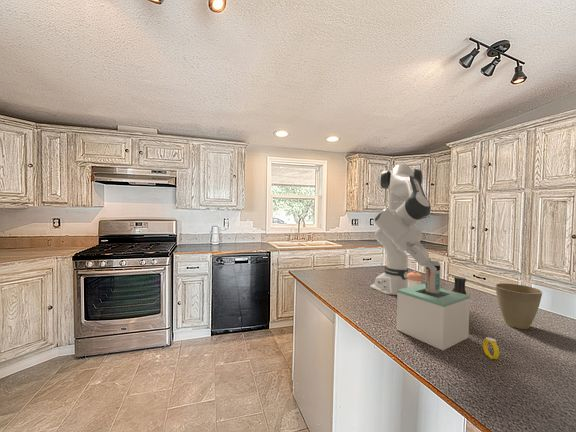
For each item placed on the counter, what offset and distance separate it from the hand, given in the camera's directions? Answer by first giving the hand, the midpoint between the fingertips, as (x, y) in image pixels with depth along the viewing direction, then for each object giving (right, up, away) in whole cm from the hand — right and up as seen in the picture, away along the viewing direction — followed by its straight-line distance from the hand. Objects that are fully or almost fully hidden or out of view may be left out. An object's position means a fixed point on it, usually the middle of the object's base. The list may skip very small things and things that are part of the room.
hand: (435, 269), depth 101 cm
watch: (+10, -26, -15) cm, 32 cm away
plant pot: (+40, -26, +9) cm, 48 cm away
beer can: (-1, -9, 0) cm, 9 cm away
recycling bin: (-1, -25, +1) cm, 25 cm away
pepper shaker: (+3, -25, +23) cm, 34 cm away
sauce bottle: (+15, -25, +9) cm, 31 cm away
